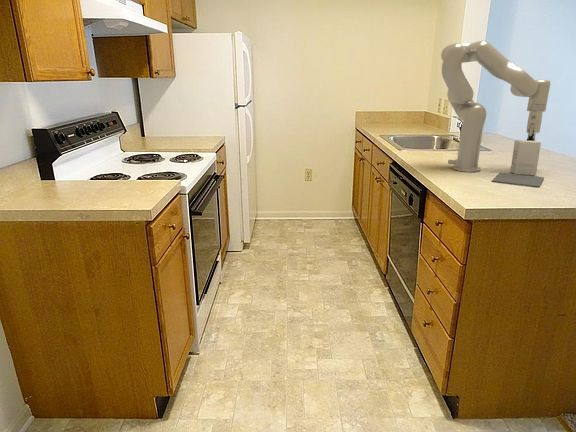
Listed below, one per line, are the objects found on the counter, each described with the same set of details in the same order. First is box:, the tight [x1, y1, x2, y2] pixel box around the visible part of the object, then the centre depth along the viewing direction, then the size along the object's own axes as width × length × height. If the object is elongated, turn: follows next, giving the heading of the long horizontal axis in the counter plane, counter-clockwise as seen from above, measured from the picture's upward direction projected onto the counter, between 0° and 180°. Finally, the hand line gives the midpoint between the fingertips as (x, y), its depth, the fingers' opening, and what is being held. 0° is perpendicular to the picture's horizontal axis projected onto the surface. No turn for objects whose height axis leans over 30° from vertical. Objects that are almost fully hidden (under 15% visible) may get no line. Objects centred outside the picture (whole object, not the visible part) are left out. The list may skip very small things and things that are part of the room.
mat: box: [491, 172, 545, 188], centre depth 181 cm, size 18×19×1 cm
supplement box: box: [509, 139, 542, 176], centre depth 191 cm, size 9×9×15 cm
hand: (529, 147), depth 197 cm, fingers closed
